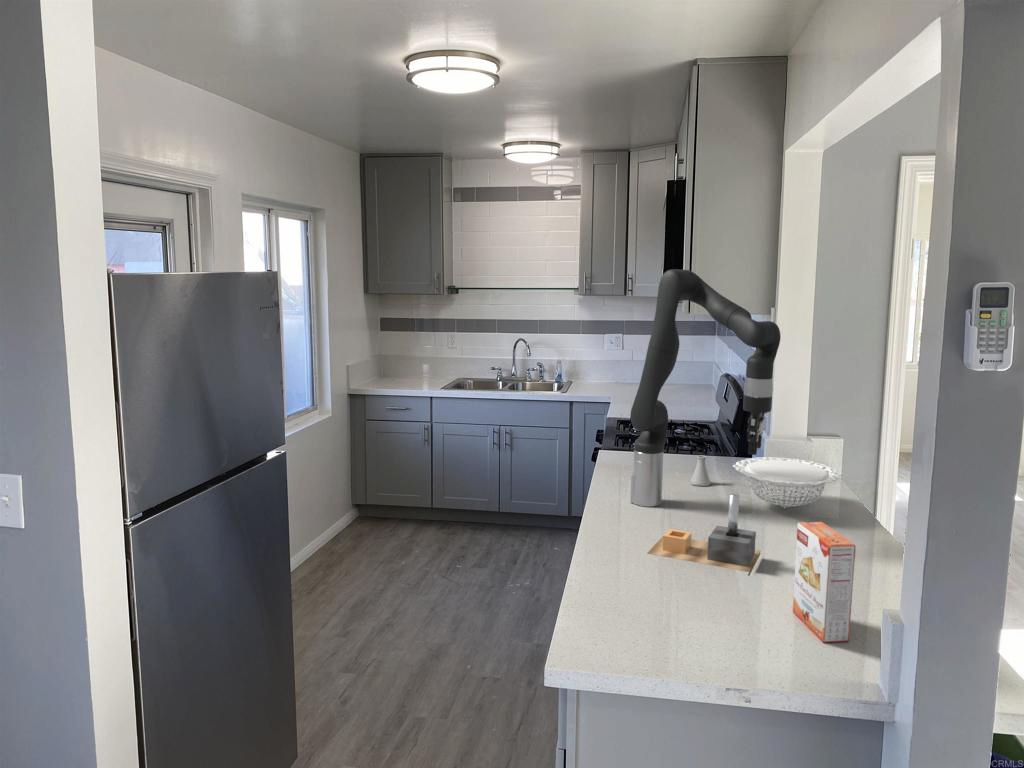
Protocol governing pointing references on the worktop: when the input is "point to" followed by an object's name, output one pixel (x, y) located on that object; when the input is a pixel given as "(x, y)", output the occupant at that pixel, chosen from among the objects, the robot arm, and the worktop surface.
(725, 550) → the bearing block
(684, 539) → the block
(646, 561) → the worktop surface
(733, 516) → the steel shaft
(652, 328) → the robot arm
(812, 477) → the white openwork bowl
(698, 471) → the flask
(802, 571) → the cracker box
